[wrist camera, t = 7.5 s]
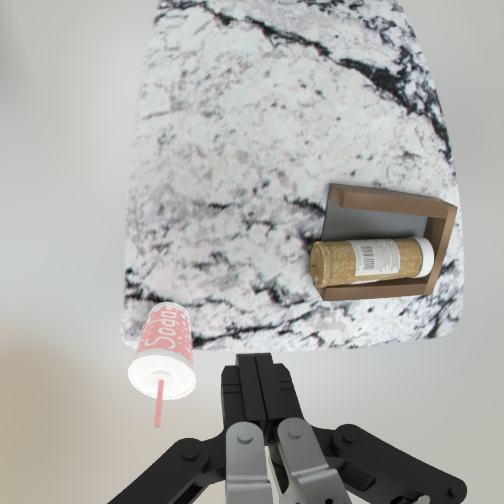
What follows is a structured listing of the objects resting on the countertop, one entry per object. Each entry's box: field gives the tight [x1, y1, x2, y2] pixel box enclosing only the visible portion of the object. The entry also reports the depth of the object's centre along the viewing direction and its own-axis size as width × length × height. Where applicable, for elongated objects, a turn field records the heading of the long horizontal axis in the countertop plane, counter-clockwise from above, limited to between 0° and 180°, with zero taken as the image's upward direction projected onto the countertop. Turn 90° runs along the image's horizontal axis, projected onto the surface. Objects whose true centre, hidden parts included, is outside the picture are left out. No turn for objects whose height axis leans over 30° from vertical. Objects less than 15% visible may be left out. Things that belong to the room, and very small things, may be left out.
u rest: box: [313, 183, 458, 301], centre depth 29 cm, size 11×15×4 cm
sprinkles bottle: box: [310, 237, 434, 288], centre depth 29 cm, size 5×5×14 cm
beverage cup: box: [128, 302, 196, 428], centre depth 25 cm, size 6×6×14 cm
